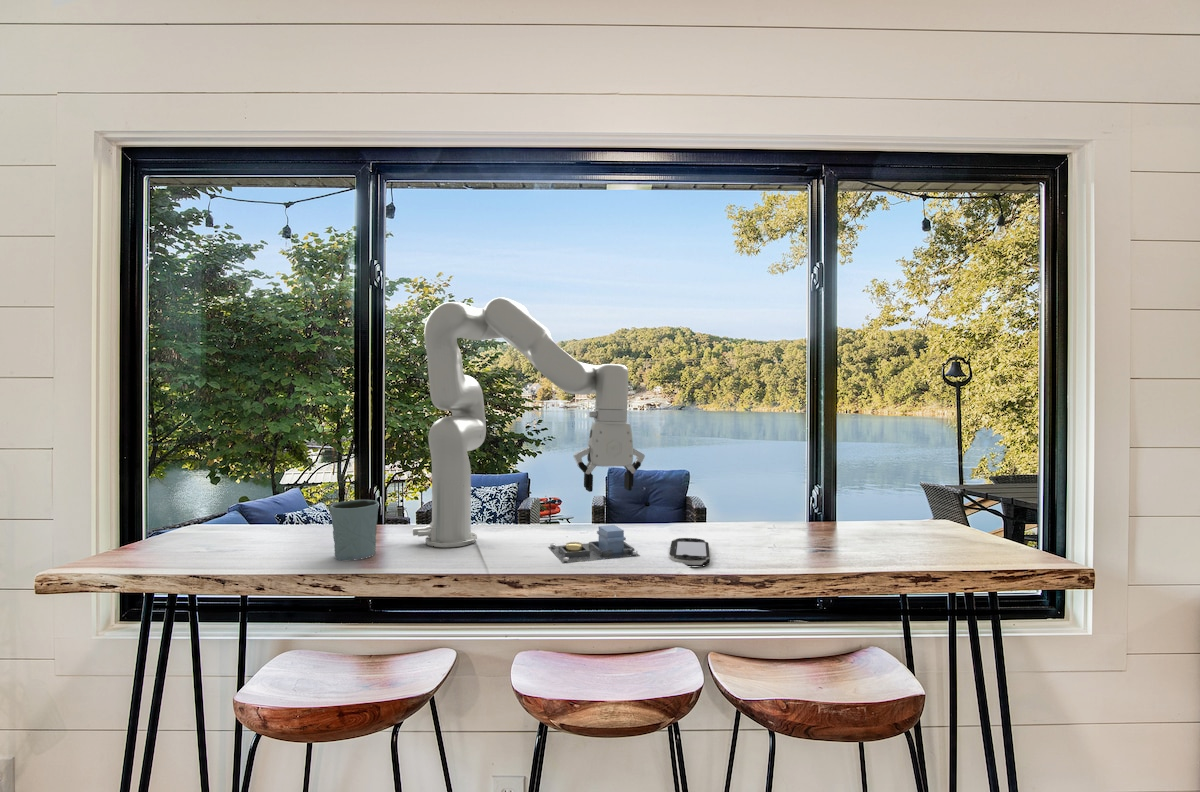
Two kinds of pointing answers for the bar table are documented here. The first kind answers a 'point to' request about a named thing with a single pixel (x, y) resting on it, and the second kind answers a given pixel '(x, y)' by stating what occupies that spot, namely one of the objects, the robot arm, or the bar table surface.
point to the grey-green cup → (354, 528)
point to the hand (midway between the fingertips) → (608, 490)
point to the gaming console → (690, 551)
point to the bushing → (573, 546)
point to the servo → (611, 538)
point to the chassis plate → (590, 553)
